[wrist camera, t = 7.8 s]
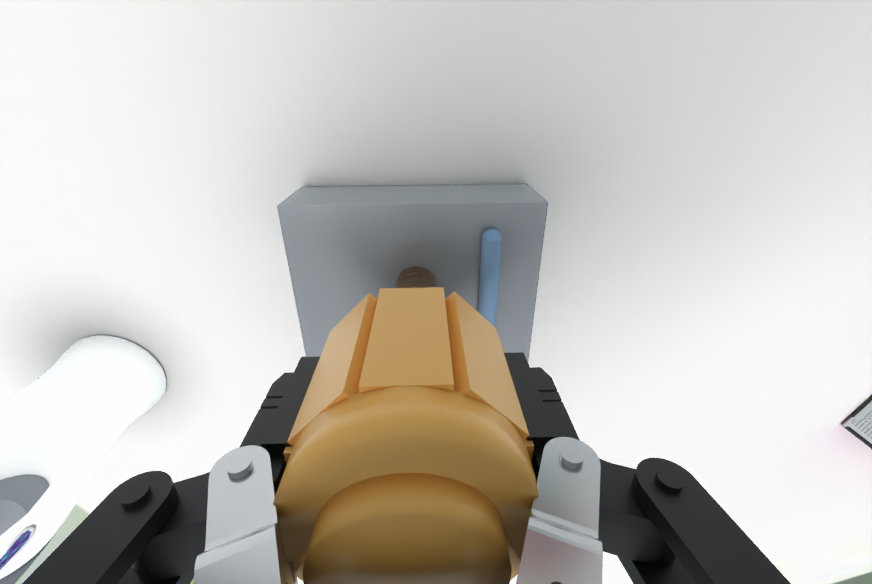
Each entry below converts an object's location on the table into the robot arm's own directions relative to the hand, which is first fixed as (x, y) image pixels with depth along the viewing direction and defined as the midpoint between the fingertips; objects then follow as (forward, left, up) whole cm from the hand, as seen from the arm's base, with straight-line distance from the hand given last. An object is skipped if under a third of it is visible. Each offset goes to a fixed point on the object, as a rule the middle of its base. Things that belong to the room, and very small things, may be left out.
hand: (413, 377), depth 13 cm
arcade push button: (0, 0, -1) cm, 1 cm away
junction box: (+4, 0, -11) cm, 12 cm away
